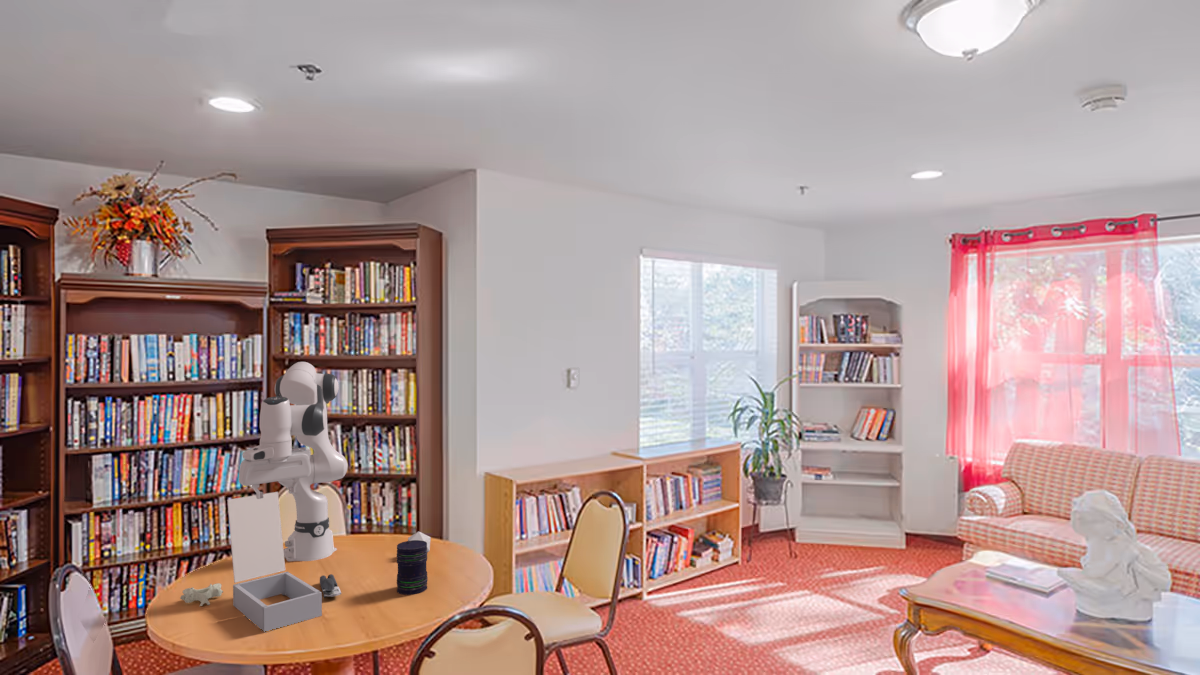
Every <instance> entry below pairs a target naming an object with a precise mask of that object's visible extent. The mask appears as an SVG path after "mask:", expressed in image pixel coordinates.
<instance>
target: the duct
mask: <svg viewBox="0 0 1200 675" xmlns="http://www.w3.org/2000/svg"><path fill="white" fill-rule="evenodd" d="M322 593H323V591H320V590H319V589H317V588H315V587H313V586H312V585H310V584H309V583H307V582H305V581H304V580H303V579H300V578H299V577H297V576H295V574H292V573H290V572H289V571H283V572H281V573H274V574H270V575H266V576H262V577H258V578H254V579H250V580H248V581H247V580H246V581H241V582H237V583H235V584H233V585H232V594H233V595H232V597H233V598H232V601H233V602H232V605H233V607H234V608H236V609H237V611H239V612H241V613H242V615H245V616H246V617H247V618H248V619H250V620H251V621H252V622H253V623H254V624H256V625H257V626H258V627H259V628H260V629H262V630H263V631H264V632H265V631H269V630H272V629H275V630H277V629H276V628H279V629H281V628H280V627H282V628H284V627H283V626H285V627H288V626H287V625H289V626H292V625H295V624H298V622H299V623H302V622H305V621H308V620H312V619H314V618H315V617H316V618H320V617H322V616H323V608H322V607H323V604H322V603H323V596H322V595H323V594H322ZM279 595H282V596H286V597H288V598H289V599H287V600H284V601H280V602H276V603H272V604H268V605H267V604H265V603H264V602H263V601H261V600H263V599H268V598H271V597H274V596H279ZM246 617H245V618H246ZM247 618H246V619H247ZM248 619H247V620H248ZM304 620H305V621H304ZM251 621H250V622H251ZM301 621H302V622H301ZM252 622H251V623H252ZM253 623H252V624H253ZM294 623H295V624H294ZM254 624H253V625H254ZM291 624H292V625H291ZM256 625H255V626H256ZM257 626H256V627H257ZM258 627H257V628H258ZM259 628H258V629H259ZM260 629H259V630H260ZM262 630H261V631H262ZM263 631H262V632H263ZM272 631H273V630H272ZM264 632H263V633H264ZM269 632H270V631H269ZM265 633H266V632H265Z"/></svg>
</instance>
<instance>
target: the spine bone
mask: <svg viewBox="0 0 1200 675" xmlns="http://www.w3.org/2000/svg"><path fill="white" fill-rule="evenodd" d="M222 593H224V591H223V589H222V583H214V584H212V583H209V585H208V586H207V587H203V588H199V589H197V588H194V587H189V588H185V589H183V590H182V595H180V597H179V598H180V599H179V600H181V601H184V602H185V603H186V604H190V603H193V602H195V601H199V602H200V604H199V607H200V606H202V607H203V605H204V604H206V605H207V606H210V605H211V603H210V601H209V599H212V598H216V597H217V598H218V597H221V596H222Z"/></svg>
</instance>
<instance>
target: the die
mask: <svg viewBox="0 0 1200 675" xmlns="http://www.w3.org/2000/svg"><path fill="white" fill-rule="evenodd" d="M431 538H432V537H431V536H429V535H427V534H425V533H423V532H421V531H417V532H415V533H413V534H412V535H410V536H408V538H407V541H412V540H420V541H425V542H427V553H429V552H430V549H431Z"/></svg>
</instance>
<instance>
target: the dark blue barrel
mask: <svg viewBox="0 0 1200 675" xmlns="http://www.w3.org/2000/svg"><path fill="white" fill-rule="evenodd" d="M427 561H428V552H427V542H425V541H420V540H412V541H408V540H406V541H402V542H400V543H398V544H396V563H397V575H396V588H397V589H396V592H397V593H398V594H399V595H402V596H403V595H405V596H410V595H411V596H413V595H419V594H421V593H424V592H425V591H427V589H428V571H427Z"/></svg>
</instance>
